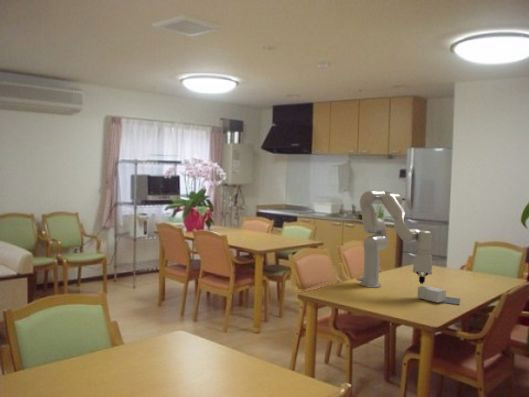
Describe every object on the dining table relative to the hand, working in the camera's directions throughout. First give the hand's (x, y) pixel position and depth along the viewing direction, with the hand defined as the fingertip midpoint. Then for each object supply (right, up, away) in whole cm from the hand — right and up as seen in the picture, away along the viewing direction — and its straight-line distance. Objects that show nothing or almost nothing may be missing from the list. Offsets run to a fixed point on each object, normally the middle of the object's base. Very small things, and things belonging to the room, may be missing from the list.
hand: (421, 283), depth 285 cm
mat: (+11, -9, -4) cm, 14 cm away
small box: (-1, -5, -1) cm, 5 cm away
